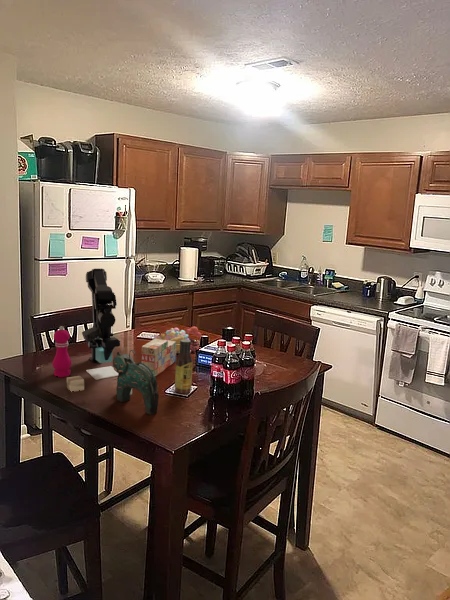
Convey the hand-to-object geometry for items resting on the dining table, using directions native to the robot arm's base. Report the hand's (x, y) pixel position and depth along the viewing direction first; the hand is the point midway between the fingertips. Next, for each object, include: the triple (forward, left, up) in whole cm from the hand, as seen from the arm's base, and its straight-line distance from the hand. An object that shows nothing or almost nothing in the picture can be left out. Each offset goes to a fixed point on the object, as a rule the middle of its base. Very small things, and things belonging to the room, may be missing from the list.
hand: (103, 358), depth 204 cm
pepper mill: (-6, -15, -7) cm, 17 cm away
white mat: (0, 0, -6) cm, 6 cm away
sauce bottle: (+31, +19, -7) cm, 37 cm away
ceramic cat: (+35, -2, -7) cm, 35 cm away
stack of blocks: (+4, +23, -7) cm, 24 cm away
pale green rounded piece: (+23, -1, -6) cm, 24 cm away
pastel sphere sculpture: (-18, +45, -7) cm, 49 cm away
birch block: (+10, -15, -7) cm, 20 cm away
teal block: (0, 0, -1) cm, 1 cm away
